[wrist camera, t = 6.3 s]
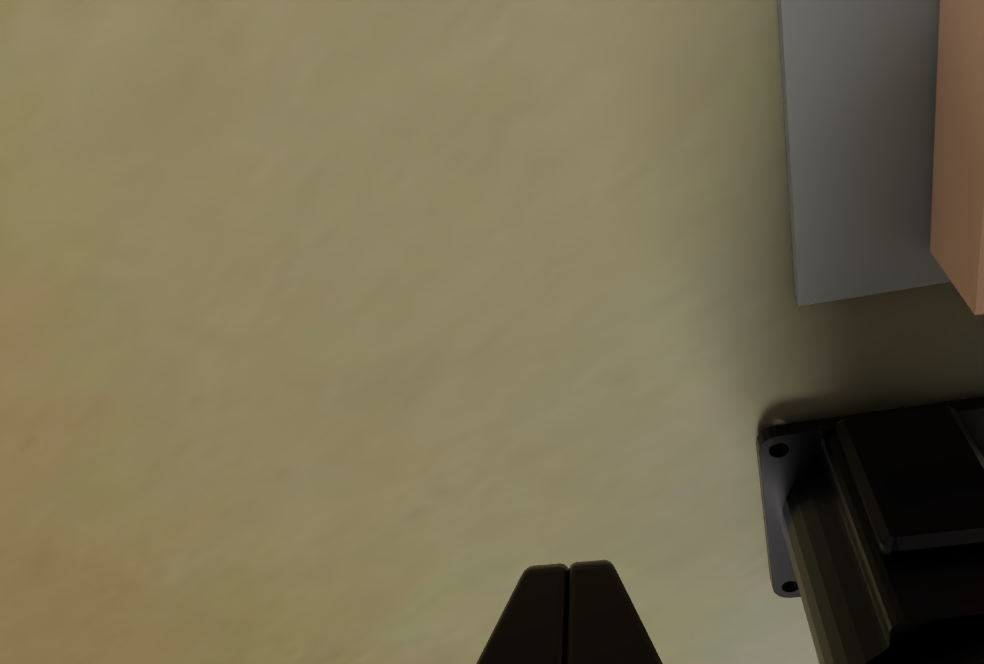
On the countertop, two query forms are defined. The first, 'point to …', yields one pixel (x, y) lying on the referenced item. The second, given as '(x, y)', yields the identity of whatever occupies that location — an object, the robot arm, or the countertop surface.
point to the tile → (960, 150)
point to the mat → (860, 144)
